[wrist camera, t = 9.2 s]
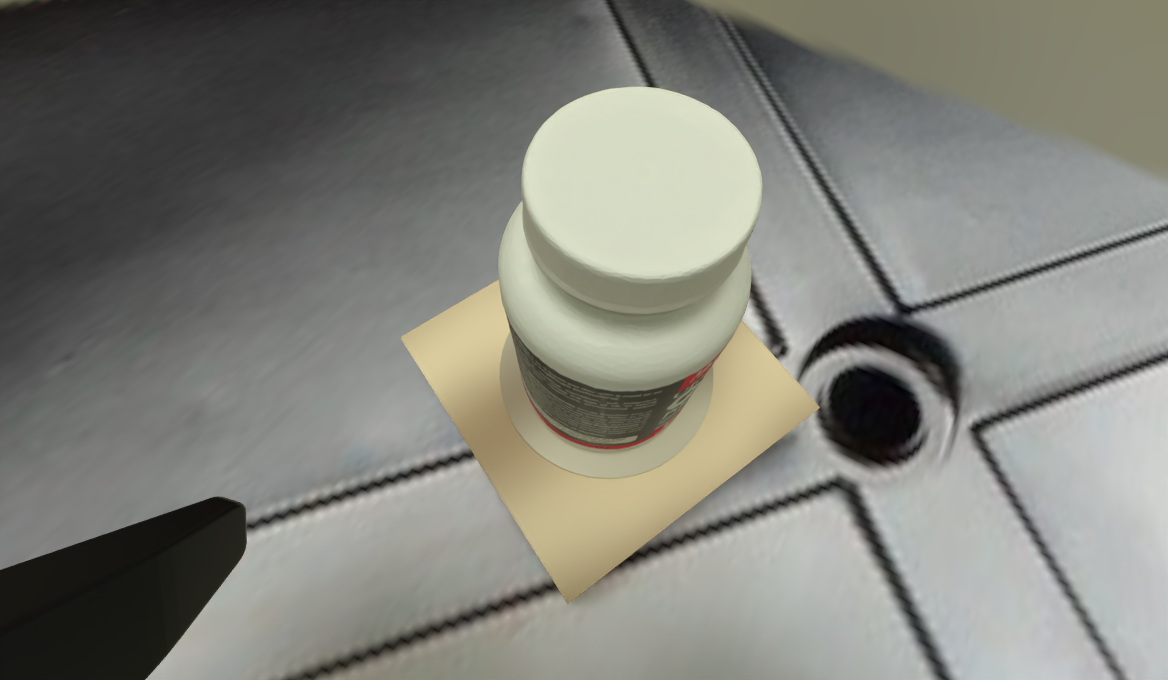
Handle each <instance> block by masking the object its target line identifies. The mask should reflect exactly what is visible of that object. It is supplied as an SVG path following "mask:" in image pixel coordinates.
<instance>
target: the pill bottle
mask: <svg viewBox="0 0 1168 680" xmlns="http://www.w3.org/2000/svg"><path fill="white" fill-rule="evenodd" d="M521 185H522V201H521V203H520V204H519V205H518V207H517V208H516V210H515V211H514V213H513V215H512V216H511V218H510V220H509V222H508V224H507V227H506V229H505V232H504V234H503V238H502V242H501V246H500V252H499V259H498V276H499V285H500V292H501V299H502V304H503V307H504V309H505V313H506V316H507V320H508V323H509V328H510V332H511V335H512V339H513V343H514V346H515V351H516V355H517V360H518V364H519V368H520V373H521V378H522V381H523V385H524V388H525V392H526V395H527V398H528V401H529V403H530V405H531V407H532V409H533V411H534V412H535V414H536V415H537V416H538V418H539V419H540V420H541V422H542V423H543V424H544V425H545V426H546V427H547V428H548V429H549V430H550V431H551V432H552V433H554V434H555V435H556V436H558V437H559V438H561V439H562V440H564V441H565V442H567V443H569V444H571V445H573V446H576V447H579V448H582V449H585V450H589V451H595V452H603V453H604V452H619V451H626V450H630V449H633V448H636V447H639V446H641V445H643V444H646V443H648V442H649V441H651V440H652V439H654V438H655V437H657V436H658V435H659V434H661V433H662V432H663V431H664V430H665V429H666V428H667V427H668V426H669V425H670V424H671V423H672V422H673V421H674V419H675V418H676V417H677V415H678V414H679V413H680V412H681V410H682V409H683V407H684V406H685V404H686V403H687V401H688V400H689V398H690V397H691V395H692V394H693V392H694V391H695V390H696V388H697V387H698V385H699V383H700V382H701V381H702V380H703V378H704V376H705V375H706V373H707V372H708V371H709V370H710V368H711V367H712V365H713V364H714V362H715V361H716V360H717V358H718V357H719V356H720V354H721V353H722V351H723V350H724V349H725V347H726V346H727V344H728V343H729V341H730V340H731V338H732V337H733V335H734V333H735V331H736V330H737V328H738V326H739V324H740V322H741V320H742V318H743V315H744V313H745V310H746V307H747V303H748V300H749V296H750V287H751V264H750V257H749V252H748V249H747V245H746V244H747V242H748V240H749V238H750V236H751V234H752V232H753V229H754V227H755V224H756V222H757V219H758V216H759V212H760V208H761V201H762V188H763V185H762V177H761V172H760V168H759V165H758V162H757V159H756V157H755V155H754V152H753V150H752V149H751V147H750V145H749V144H748V142H747V141H746V139H745V138H744V136H743V135H742V134H741V133H740V132H739V130H738V129H737V128H736V127H735V126H734V125H733V124H732V123H731V122H730V121H728V120H727V119H726V118H725V117H724V116H723V115H722V114H720V113H719V112H717V111H716V110H714V109H712V108H710V107H709V106H707V105H706V104H703V103H701V102H699V101H697V100H695V99H693V98H690V97H688V96H685V95H682V94H679V93H676V92H672V91H668V90H663V89H659V88H649V87H625V88H614V89H607V90H604V91H599V92H596V93H593V94H589V95H586V96H584V97H581V98H579V99H577V100H575V101H573V102H571V103H569V104H567V105H566V106H564V107H562V108H561V109H559V110H558V111H557V112H556V113H554V114H553V115H552V116H551V117H550V118H549V119H548V120H547V121H546V122H545V123H544V124H543V125H542V126H541V128H540V129H539V130H538V132H537V133H536V134H535V136H534V138H533V140H532V142H531V144H530V146H529V148H528V150H527V153H526V155H525V159H524V163H523V170H522V183H521Z"/></svg>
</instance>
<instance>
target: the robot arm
mask: <svg viewBox="0 0 1168 680" xmlns="http://www.w3.org/2000/svg"><path fill="white" fill-rule="evenodd" d="M246 544H247V534H246V508H245V507H244V505H243V504H242V503H240V502H237V501H234V500H231V499H228V498H225V497H213V498H209V499H206V500H203V501H201V502H198V503H195V504H192V505H189V506H186V507H183V508H180V509H177V510H174V511H171V512H168V513H165V514H163V515H160V516H157V517H154V518H151V519H148V520H145V521H142V522H139V523H136V524H133V525H130V526H127V527H125V528H122V529H119V530H116V531H113V532H110V533H107V534H104V535H101V536H98V537H95V538H92V539H90V540H87V541H84V542H81V543H78V544H75V545H72V546H69V547H66V548H63V549H60V550H57V551H54V552H52V553H49V554H46V555H43V556H40V557H37V558H34V559H31V560H28V561H25V562H22V563H19V564H16V565H14V566H11V567H8V568H5V569H2V570H0V680H145V679H146V678H147V677H148V676H149V675H150V674H151V673H152V672H153V671H154V669H155V668H156V667H157V666H158V665H159V664H160V663H161V661H162V660H163V659H164V658H165V657H166V656H167V655H168V653H169V652H170V651H171V650H172V648H173V647H174V646H175V645H176V643H177V642H178V641H179V640H180V638H181V637H182V636H183V634H184V633H185V632H186V631H187V629H188V628H189V627H190V625H191V624H192V623H193V621H194V620H195V619H196V617H197V616H198V615H199V613H200V612H201V611H202V610H203V608H204V607H205V606H206V604H207V603H208V602H209V600H210V599H211V598H212V596H213V595H214V594H215V592H216V591H217V590H218V589H219V587H220V586H221V585H222V583H223V582H224V581H225V579H226V578H227V577H228V575H229V574H230V573H231V571H232V570H233V569H234V568H235V566H236V565H237V564H238V562H239V561H240V559H241V558H242V556H243V554H244V552H245V549H246Z"/></svg>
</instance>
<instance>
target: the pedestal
mask: <svg viewBox="0 0 1168 680" xmlns="http://www.w3.org/2000/svg"><path fill="white" fill-rule="evenodd" d="M400 338H401V339H402V341H403V342H404V344H405V346H406V347H407V349H408V350H409V352H410V354H411V355H412V357H413V358H414V360H415V362H416V363H417V365H418V366H419V368H420V369H421V371H422V373H423V374H424V376H425V377H426V379H427V381H428V382H429V384H430V385H431V387H432V389H433V390H434V392H435V393H436V395H437V397H438V398H439V400H440V401H441V403H442V404H443V406H444V408H445V409H446V411H447V412H448V414H449V416H450V417H451V419H452V420H453V422H454V424H455V425H456V427H457V428H458V430H459V432H460V433H461V435H462V436H463V438H464V439H465V441H466V443H467V444H468V446H469V447H470V449H471V451H472V452H473V454H474V455H475V457H476V459H477V460H478V462H479V463H480V465H481V467H482V468H483V470H484V471H485V473H486V474H487V476H488V478H489V479H490V481H491V482H492V484H493V486H494V487H495V489H496V490H497V492H498V494H499V495H500V497H501V498H502V500H503V502H504V503H505V505H506V506H507V508H508V509H509V511H510V513H511V514H512V516H513V517H514V519H515V521H516V522H517V524H518V525H519V527H520V529H521V530H522V532H523V533H524V535H525V537H526V538H527V540H528V541H529V543H530V544H531V546H532V548H533V549H534V551H535V552H536V554H537V556H538V557H539V559H540V560H541V562H542V564H543V565H544V567H545V568H546V570H547V572H548V573H549V575H550V576H551V578H552V579H553V581H554V583H555V584H556V586H557V587H558V589H559V591H560V592H561V594H562V595H563V597H564V599H565V600H566V602H567V603H568V604H569V603H570V602H571V601H573V600H574V599H575V598H576V597H578V596H579V595H580V594H582V593H583V592H584V591H585V590H587V589H588V588H589V587H591V586H592V585H593V584H594V583H596V582H597V581H598V580H600V579H601V578H602V577H603V576H605V575H606V574H607V573H609V572H610V571H611V570H612V569H614V568H615V567H616V566H617V565H619V564H620V563H621V562H623V561H624V560H625V559H626V558H628V557H629V556H630V555H632V554H633V553H634V552H635V551H637V550H638V549H639V548H641V547H642V546H643V545H644V544H646V543H647V542H648V541H650V540H651V539H652V538H653V537H655V536H656V535H657V534H659V533H660V532H661V531H662V530H664V529H665V528H666V527H668V526H669V525H670V524H671V523H673V522H674V521H675V520H677V519H678V518H679V517H680V516H682V515H683V514H684V513H685V512H687V511H688V510H689V509H691V508H692V507H693V506H694V505H696V504H697V503H698V502H700V501H701V500H702V499H703V498H705V497H706V496H707V495H709V494H710V493H711V492H712V491H714V490H715V489H716V488H718V487H719V486H720V485H721V484H723V483H724V482H725V481H727V480H728V479H729V478H730V477H732V476H733V475H734V474H736V473H737V472H738V471H739V470H741V469H742V468H743V467H745V466H746V465H747V464H748V463H750V462H751V461H752V460H753V459H755V458H756V457H757V456H759V455H760V454H761V453H762V452H764V451H765V450H766V449H768V448H769V447H770V446H771V445H773V444H774V443H775V442H777V441H778V440H779V439H780V438H782V437H783V436H784V435H786V434H787V433H788V432H789V431H791V430H792V429H793V428H795V427H796V426H797V425H798V424H800V423H801V422H802V421H804V420H805V419H806V418H807V417H809V416H810V415H811V414H812V413H814V412H815V411H816V410H818V409H819V408H820V407H819V406H818V405H817V404H816V402H815V401H814V400H813V399H812V398H811V397H810V396H809V395H808V394H807V392H806V391H805V390H804V389H803V388H802V387H801V386H800V385H799V383H798V382H797V381H796V380H795V379H794V378H793V377H792V376H791V375H790V373H789V372H788V371H787V370H786V369H785V368H784V367H783V366H782V364H781V363H780V362H779V361H778V360H777V359H776V358H775V357H774V356H773V354H772V353H771V352H770V351H769V350H768V349H767V348H766V347H765V346H764V344H763V343H762V342H761V341H760V340H759V339H758V338H757V337H756V335H755V334H754V333H753V332H752V331H751V330H750V329H749V328H748V327H747V325H746V324H745V323H744V322H743V321H742V320H741V322H740V324H739V326H738V328H737V330H736V331H735V333H734V335H733V337H732V338H731V340H730V341H729V343H728V344H727V346H726V347H725V349H724V350H723V351H722V353H721V354H720V356H719V357H718V358H717V360H716V361H715V362H714V364H713V365H712V367H711V368H710V370H709V371H708V372H707V373H706V375H705V376H704V378H703V380H702V381H701V382H700V383H699V385H698V387H697V388H696V390H695V391H694V392H693V394H692V395H691V397H690V398H689V400H688V401H687V403H686V404H685V406H684V407H683V409H682V410H681V412H680V413H679V414H678V415H677V417H676V418H675V419H674V421H673V422H672V423H671V424H670V425H669V426H668V427H667V428H666V429H665V430H664V431H663V432H662V433H661V434H659V435H658V436H657V437H655V438H654V439H652V440H651V441H649V442H648V443H646V444H643V445H641V446H639V447H636V448H633V449H630V450H626V451H619V452H604V453H603V452H595V451H589V450H585V449H582V448H579V447H576V446H573V445H571V444H569V443H567V442H565V441H564V440H562V439H561V438H559V437H558V436H556V435H555V434H554V433H552V432H551V431H550V430H549V429H548V428H547V427H546V426H545V425H544V424H543V423H542V422H541V420H540V419H539V418H538V416H537V415H536V414H535V412H534V411H533V409H532V407H531V405H530V403H529V401H528V398H527V395H526V392H525V388H524V385H523V381H522V378H521V373H520V368H519V364H518V360H517V355H516V351H515V346H514V343H513V339H512V335H511V332H510V328H509V323H508V320H507V316H506V313H505V309H504V307H503V304H502V299H501V292H500V285H499V280H497V281H496V282H494V283H492V284H490V285H489V286H487V287H485V288H484V289H482V290H480V291H478V292H477V293H475V294H473V295H472V296H470V297H468V298H466V299H465V300H463V301H461V302H460V303H458V304H456V305H455V306H453V307H451V308H449V309H448V310H446V311H444V312H443V313H441V314H439V315H437V316H436V317H434V318H432V319H431V320H429V321H427V322H425V323H424V324H422V325H420V326H419V327H417V328H415V329H413V330H412V331H410V332H408V333H407V334H405V335H403V336H402V337H400Z"/></svg>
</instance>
